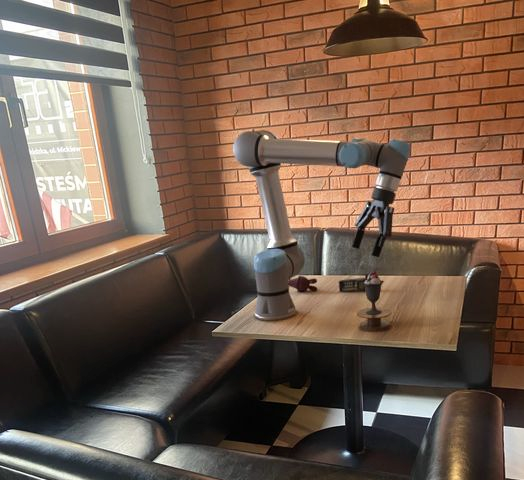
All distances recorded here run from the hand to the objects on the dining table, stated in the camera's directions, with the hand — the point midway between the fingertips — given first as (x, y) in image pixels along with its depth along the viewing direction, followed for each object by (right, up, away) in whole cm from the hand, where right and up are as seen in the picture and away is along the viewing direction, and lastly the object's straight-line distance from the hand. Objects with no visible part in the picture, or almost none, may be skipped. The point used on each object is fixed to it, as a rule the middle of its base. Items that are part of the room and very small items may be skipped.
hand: (364, 252), depth 183 cm
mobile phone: (+4, -9, +36) cm, 38 cm away
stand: (+2, -26, -8) cm, 27 cm away
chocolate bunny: (-19, -9, +45) cm, 49 cm away
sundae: (+1, -22, -10) cm, 24 cm away
